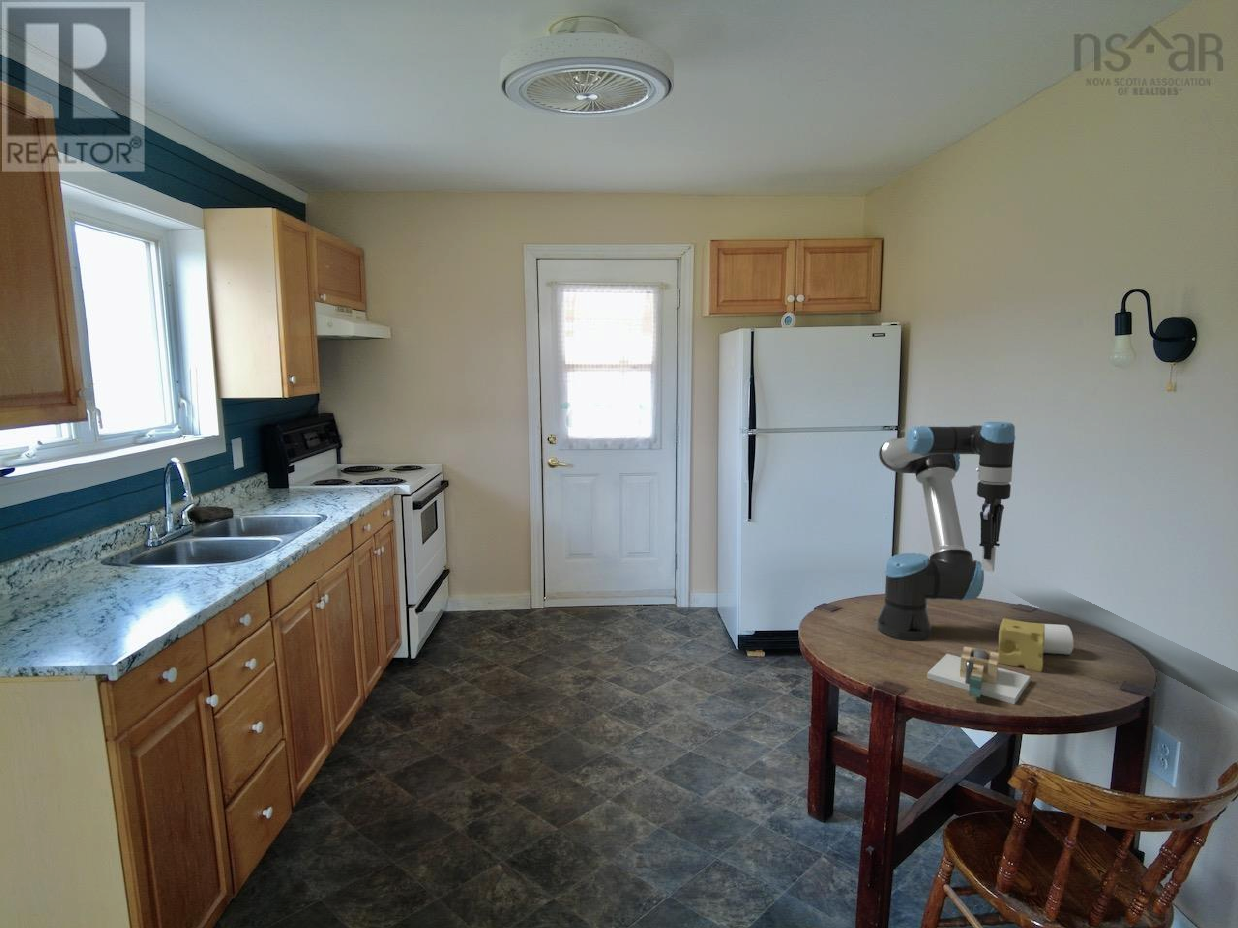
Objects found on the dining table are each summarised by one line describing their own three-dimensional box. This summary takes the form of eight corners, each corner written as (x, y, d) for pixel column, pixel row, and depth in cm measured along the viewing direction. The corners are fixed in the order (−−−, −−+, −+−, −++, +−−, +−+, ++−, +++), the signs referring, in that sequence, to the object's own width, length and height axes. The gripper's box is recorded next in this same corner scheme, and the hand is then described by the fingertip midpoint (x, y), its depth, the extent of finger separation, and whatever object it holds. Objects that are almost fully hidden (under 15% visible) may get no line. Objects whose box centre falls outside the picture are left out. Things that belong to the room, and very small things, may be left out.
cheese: (1042, 673, 175) (1045, 636, 174) (995, 663, 181) (998, 628, 180) (1042, 658, 184) (1045, 623, 183) (998, 649, 190) (1000, 615, 188)
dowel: (964, 683, 167) (965, 662, 166) (966, 681, 168) (967, 660, 167) (970, 684, 166) (972, 663, 165) (972, 682, 167) (973, 662, 166)
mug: (1072, 659, 183) (1075, 631, 182) (1032, 656, 185) (1034, 629, 184) (1053, 641, 195) (1056, 615, 194) (1016, 639, 197) (1018, 613, 196)
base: (926, 678, 173) (928, 650, 172) (946, 658, 184) (948, 632, 183) (1014, 704, 159) (1016, 674, 158) (1029, 681, 171) (1032, 653, 169)
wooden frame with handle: (962, 664, 177) (964, 646, 176) (997, 671, 173) (998, 652, 172) (955, 691, 162) (957, 672, 162) (993, 700, 158) (994, 680, 157)
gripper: (985, 477, 180) (979, 562, 183) (970, 483, 171) (964, 573, 174) (1017, 480, 175) (1010, 567, 178) (1003, 487, 165) (996, 579, 169)
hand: (987, 570), depth 176 cm, fingers closed
